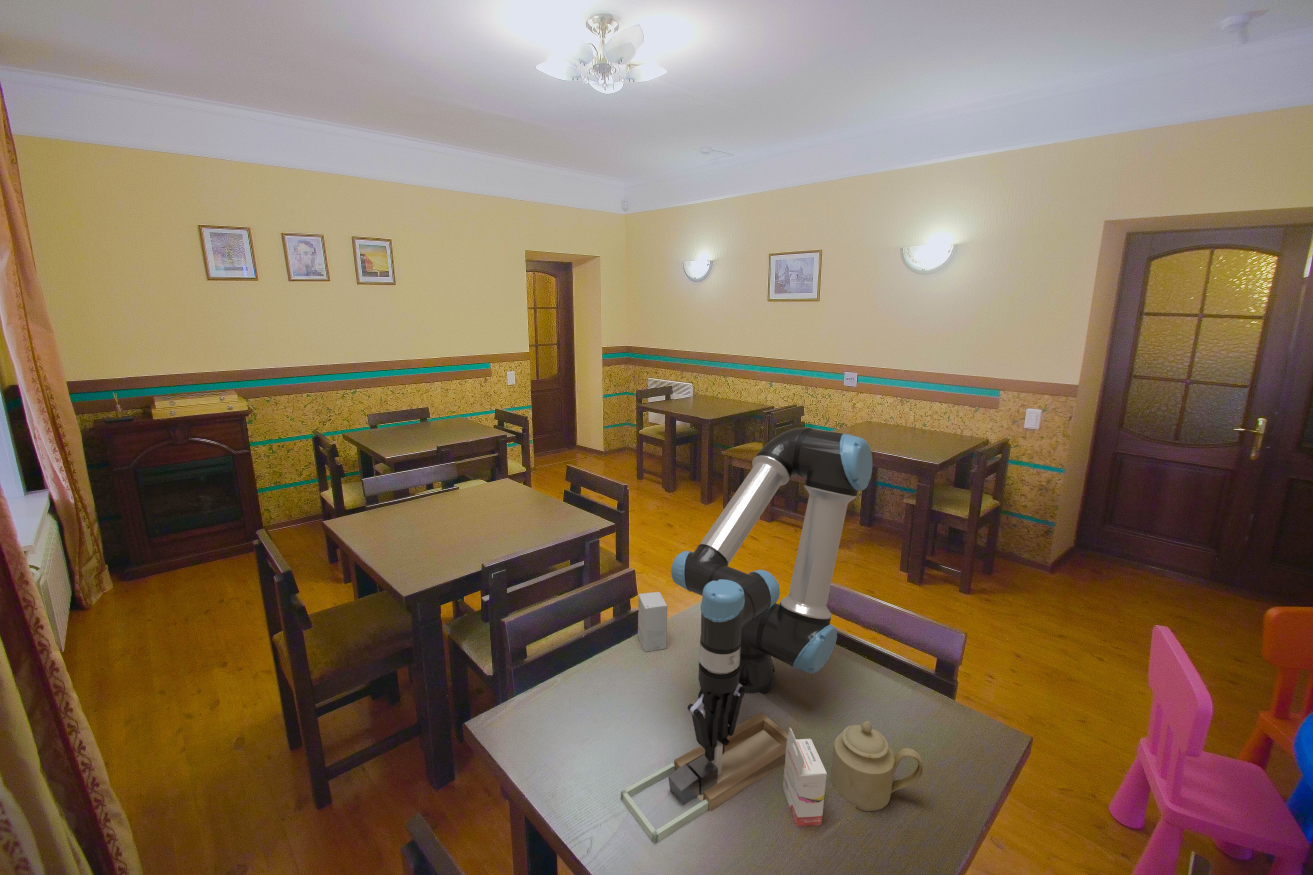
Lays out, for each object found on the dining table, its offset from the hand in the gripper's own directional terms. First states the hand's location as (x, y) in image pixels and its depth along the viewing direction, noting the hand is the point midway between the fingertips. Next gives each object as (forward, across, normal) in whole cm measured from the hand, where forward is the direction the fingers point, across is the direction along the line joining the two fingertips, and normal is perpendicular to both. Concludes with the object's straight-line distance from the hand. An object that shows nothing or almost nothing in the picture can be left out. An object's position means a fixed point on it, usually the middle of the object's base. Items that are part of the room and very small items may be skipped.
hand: (713, 770), depth 109 cm
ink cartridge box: (+3, +10, -14) cm, 17 cm away
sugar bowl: (+3, +24, -18) cm, 31 cm away
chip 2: (+2, -3, 0) cm, 3 cm away
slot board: (+3, +6, 0) cm, 7 cm away
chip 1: (+2, -7, 0) cm, 7 cm away
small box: (+3, +17, +45) cm, 48 cm away
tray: (+3, -12, +1) cm, 12 cm away
